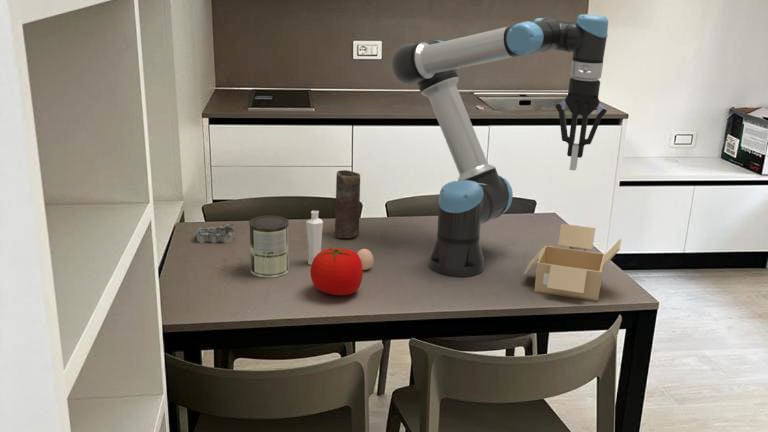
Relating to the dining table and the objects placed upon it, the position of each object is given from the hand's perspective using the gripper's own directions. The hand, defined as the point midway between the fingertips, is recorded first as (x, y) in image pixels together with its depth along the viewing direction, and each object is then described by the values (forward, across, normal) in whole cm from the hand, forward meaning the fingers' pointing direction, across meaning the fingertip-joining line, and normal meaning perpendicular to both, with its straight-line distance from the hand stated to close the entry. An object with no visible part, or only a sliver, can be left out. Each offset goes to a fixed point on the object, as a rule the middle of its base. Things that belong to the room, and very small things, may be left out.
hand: (573, 168), depth 206 cm
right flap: (+22, +11, -7) cm, 25 cm away
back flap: (+22, +3, 0) cm, 22 cm away
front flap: (+22, +3, -14) cm, 26 cm away
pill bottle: (+31, +3, +13) cm, 33 cm away
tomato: (+32, -51, -34) cm, 69 cm away
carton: (+30, +4, -7) cm, 31 cm away
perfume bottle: (+32, -64, -18) cm, 74 cm away
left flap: (+22, -5, -7) cm, 23 cm away
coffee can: (+32, -73, -28) cm, 85 cm away
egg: (+32, -50, -17) cm, 62 cm away
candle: (+32, -64, +6) cm, 72 cm away
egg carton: (+33, -99, -13) cm, 105 cm away
